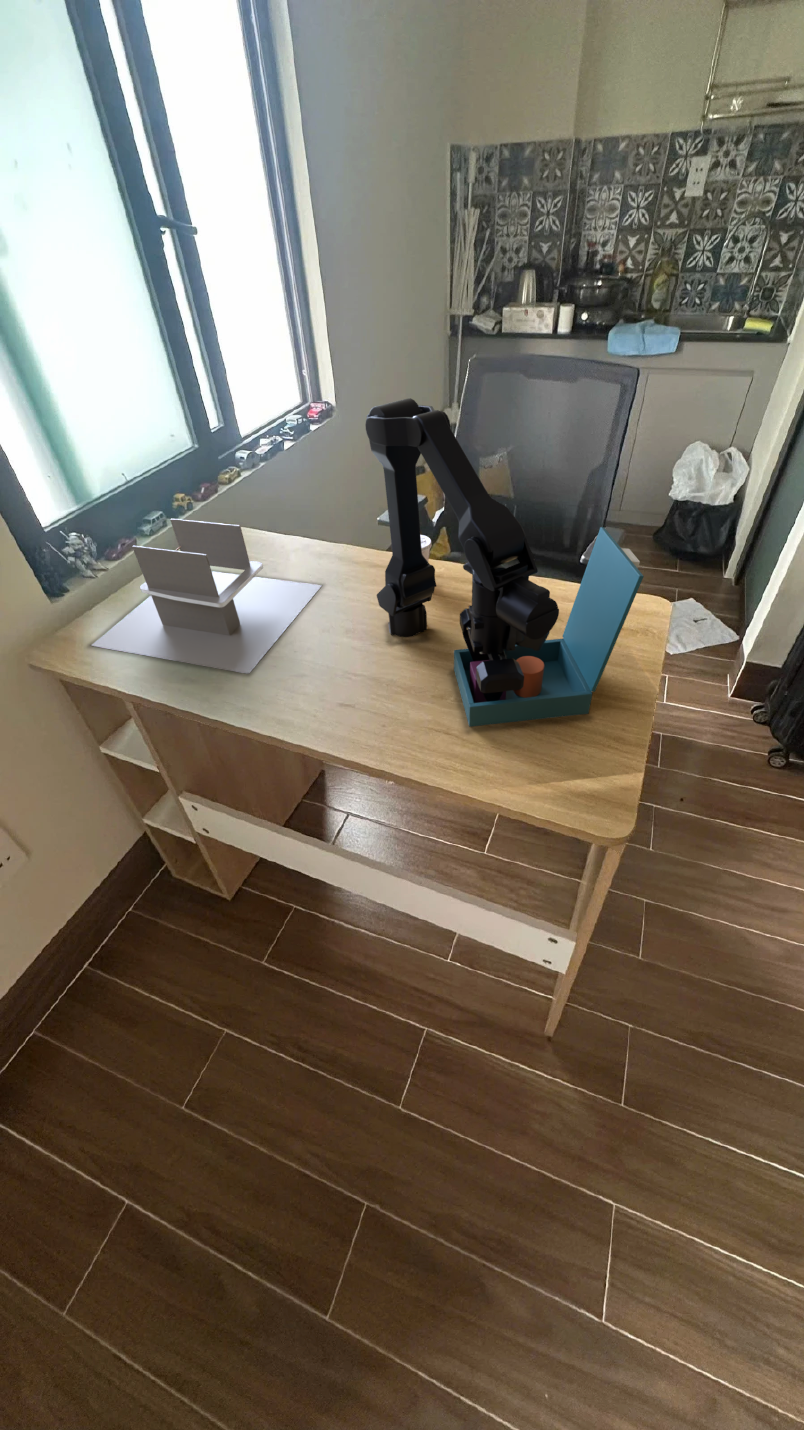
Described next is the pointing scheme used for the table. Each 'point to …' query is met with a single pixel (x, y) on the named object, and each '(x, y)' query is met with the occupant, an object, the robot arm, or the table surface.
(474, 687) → the purple cube
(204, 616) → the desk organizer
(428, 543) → the smoothie
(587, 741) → the table surface
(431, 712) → the table surface
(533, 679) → the orange cylinder
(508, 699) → the box
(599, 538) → the lunchbox lid
